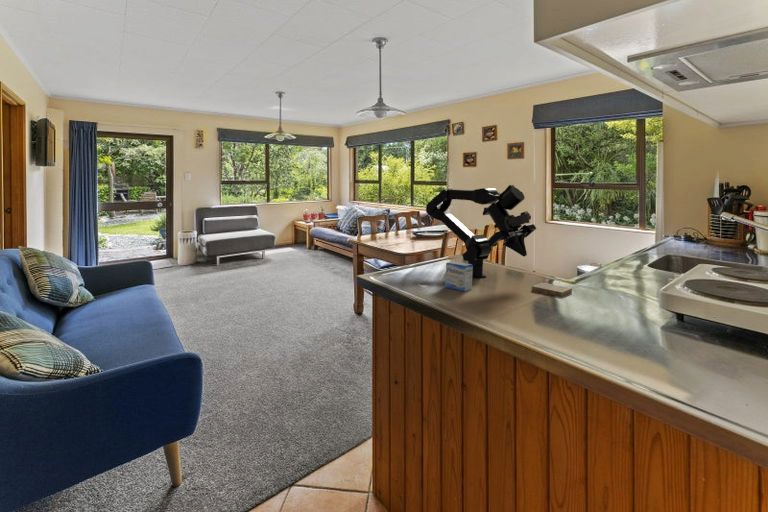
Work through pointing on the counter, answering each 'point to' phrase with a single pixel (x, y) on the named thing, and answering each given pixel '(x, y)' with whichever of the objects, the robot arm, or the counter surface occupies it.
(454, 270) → the medicine box
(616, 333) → the counter surface
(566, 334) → the counter surface
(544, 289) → the walnut tile
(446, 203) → the robot arm
